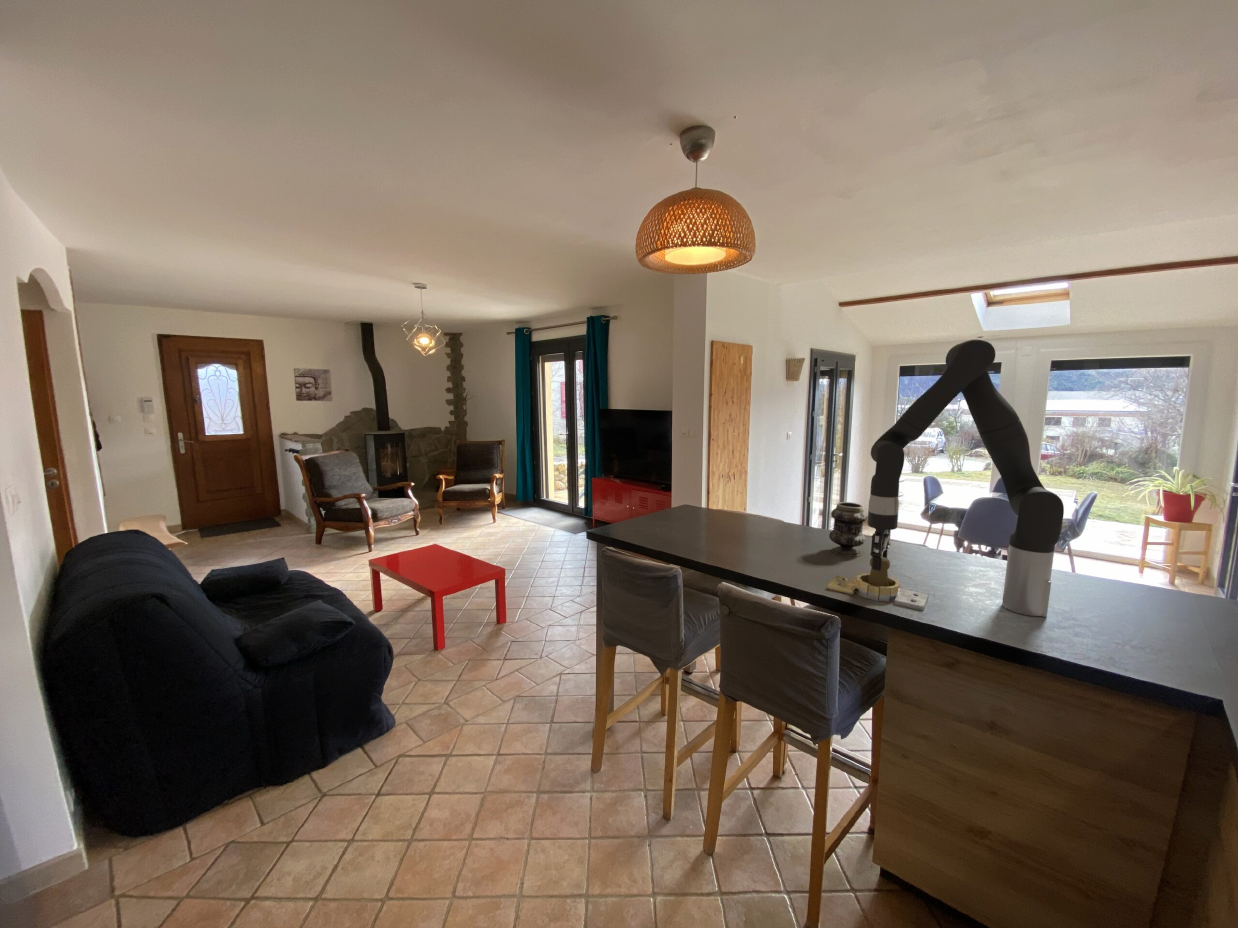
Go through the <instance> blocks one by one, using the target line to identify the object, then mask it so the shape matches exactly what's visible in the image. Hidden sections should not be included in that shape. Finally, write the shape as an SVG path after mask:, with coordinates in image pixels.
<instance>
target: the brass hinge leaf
mask: <svg viewBox="0 0 1238 928" xmlns="http://www.w3.org/2000/svg"><path fill="white" fill-rule="evenodd" d="M869 576H870V573H869V572H867V573H860V574H858V575H857V576H856V577H855V578H853V577H852V578H851V577H847V576H841V575H839V574H838V575H837V574H836V575H835V577H834V578H833V579H832V580H831V581H830V582H829V583H828V584H827V590H832V591H835V592H841V593H844V594H848V595H851V596H852V595H854V594H855V593H856V585H857V586H858V588H860V589H862V590H864V591H867V592H870V593H875V594H881V595H892V594H897V593H898V592H899V591H900V589H901V587H900V586H901V583H900V582H899V581H898V580H897V579H896V578H893V577H890V576H888V585H890V586H889V587H884V586H876V585H871V584H868V583H866V582H865V581H869Z"/></svg>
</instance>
